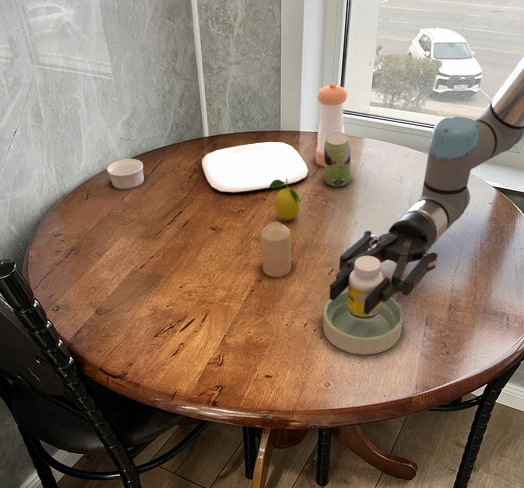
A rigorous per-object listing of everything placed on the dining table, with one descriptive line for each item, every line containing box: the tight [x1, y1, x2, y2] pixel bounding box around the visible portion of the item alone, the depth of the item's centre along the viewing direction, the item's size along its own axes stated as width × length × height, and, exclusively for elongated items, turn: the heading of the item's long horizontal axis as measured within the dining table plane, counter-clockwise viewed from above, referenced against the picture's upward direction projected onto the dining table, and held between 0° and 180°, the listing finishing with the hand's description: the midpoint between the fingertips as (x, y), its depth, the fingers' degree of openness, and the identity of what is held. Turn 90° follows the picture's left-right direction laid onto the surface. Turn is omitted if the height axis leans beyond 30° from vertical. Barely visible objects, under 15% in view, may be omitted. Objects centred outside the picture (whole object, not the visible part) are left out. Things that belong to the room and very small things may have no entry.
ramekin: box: [106, 158, 145, 190], centre depth 135 cm, size 9×9×4 cm
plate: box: [201, 141, 309, 194], centre depth 138 cm, size 25×25×2 cm
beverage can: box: [324, 132, 352, 188], centre depth 126 cm, size 6×7×12 cm
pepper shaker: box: [315, 82, 348, 168], centre depth 133 cm, size 7×7×19 cm
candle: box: [260, 221, 292, 278], centre depth 103 cm, size 6×6×10 cm
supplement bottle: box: [347, 256, 385, 321], centre depth 86 cm, size 5×5×10 cm
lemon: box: [268, 178, 302, 221], centre depth 116 cm, size 7×6×10 cm
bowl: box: [322, 289, 405, 355], centre depth 91 cm, size 13×13×4 cm
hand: (349, 299), depth 83 cm, fingers closed on supplement bottle, 5 cm apart
